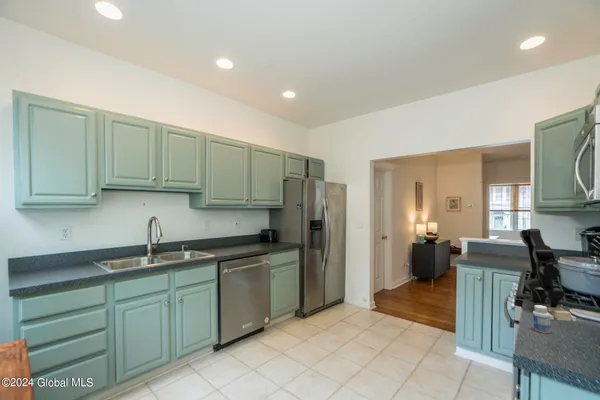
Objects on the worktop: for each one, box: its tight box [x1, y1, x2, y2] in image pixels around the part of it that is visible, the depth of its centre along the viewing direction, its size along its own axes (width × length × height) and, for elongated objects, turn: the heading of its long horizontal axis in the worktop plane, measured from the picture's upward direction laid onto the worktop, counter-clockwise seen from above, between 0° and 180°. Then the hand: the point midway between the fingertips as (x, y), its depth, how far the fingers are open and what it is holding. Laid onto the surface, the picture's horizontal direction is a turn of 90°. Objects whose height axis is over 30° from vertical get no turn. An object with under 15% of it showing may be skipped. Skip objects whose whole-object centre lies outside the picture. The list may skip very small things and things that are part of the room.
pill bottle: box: [532, 304, 552, 334], centre depth 114 cm, size 6×5×10 cm
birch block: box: [547, 306, 572, 322], centre depth 127 cm, size 7×5×4 cm
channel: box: [547, 310, 577, 322], centre depth 129 cm, size 12×9×2 cm
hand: (547, 306), depth 135 cm, fingers open, 9 cm apart
